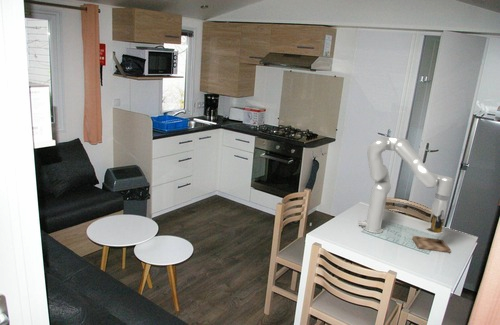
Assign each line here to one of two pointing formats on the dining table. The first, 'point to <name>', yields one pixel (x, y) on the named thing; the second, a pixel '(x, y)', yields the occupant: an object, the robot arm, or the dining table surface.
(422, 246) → the serving tray
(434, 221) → the condiment
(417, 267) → the dining table surface
